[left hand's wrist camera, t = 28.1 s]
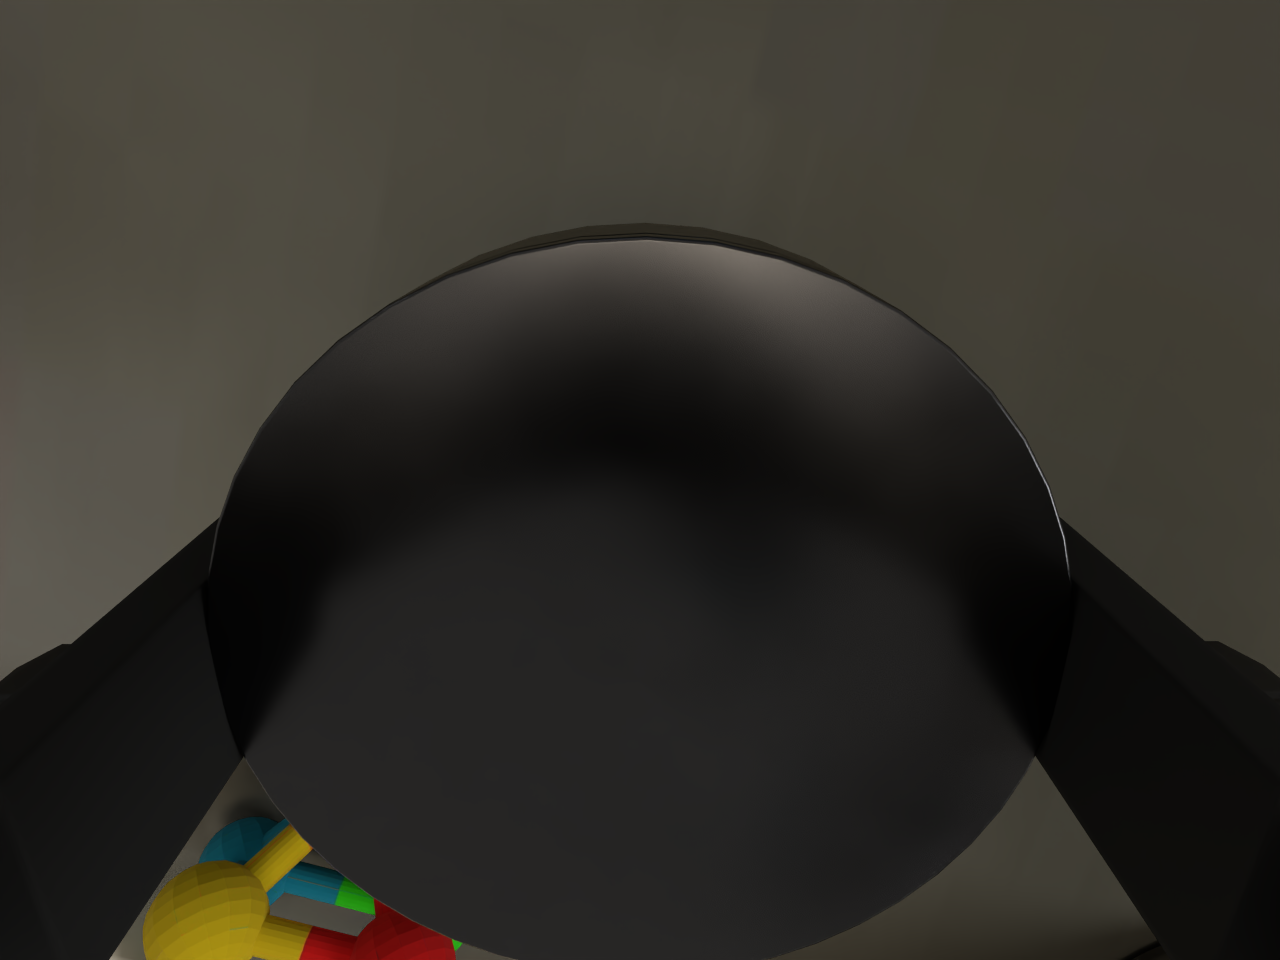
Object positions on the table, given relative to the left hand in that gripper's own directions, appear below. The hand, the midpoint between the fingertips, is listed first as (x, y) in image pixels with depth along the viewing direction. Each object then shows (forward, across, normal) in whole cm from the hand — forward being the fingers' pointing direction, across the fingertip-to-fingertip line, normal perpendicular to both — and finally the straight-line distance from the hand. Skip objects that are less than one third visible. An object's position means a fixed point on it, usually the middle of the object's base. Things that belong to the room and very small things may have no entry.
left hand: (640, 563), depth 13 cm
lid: (-3, 0, 0) cm, 3 cm away
